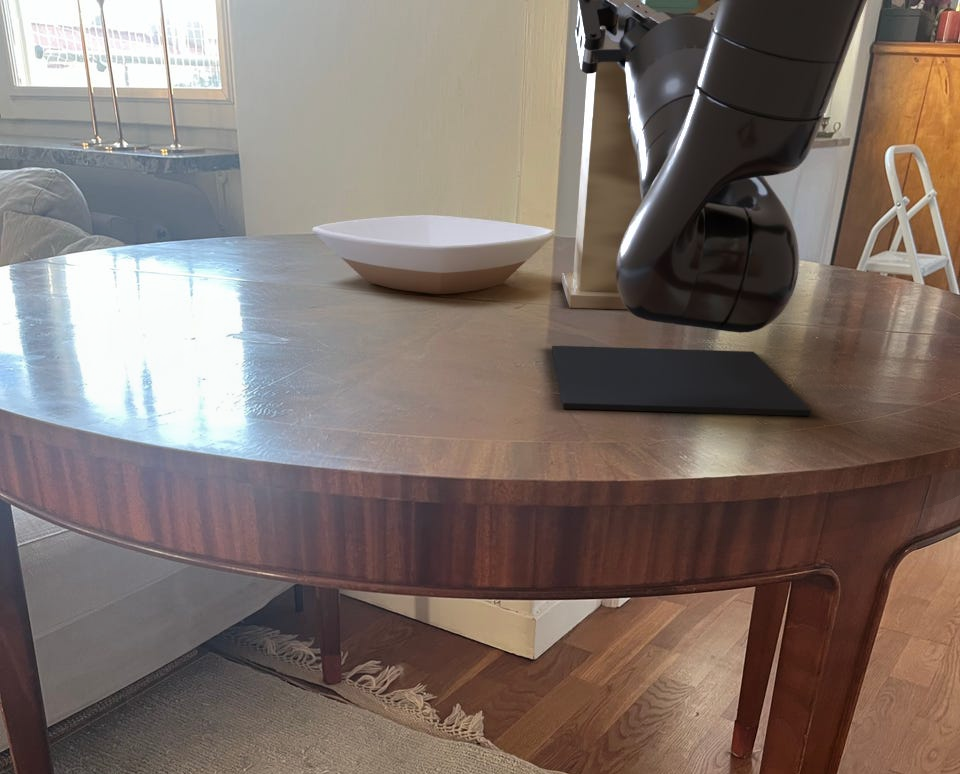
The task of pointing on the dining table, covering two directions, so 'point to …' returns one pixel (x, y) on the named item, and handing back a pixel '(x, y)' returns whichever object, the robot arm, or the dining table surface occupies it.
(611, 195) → the stand
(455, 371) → the dining table surface
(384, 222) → the bowl
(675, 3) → the block
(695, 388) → the mat
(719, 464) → the dining table surface
